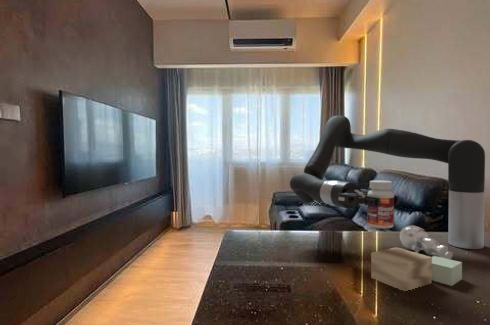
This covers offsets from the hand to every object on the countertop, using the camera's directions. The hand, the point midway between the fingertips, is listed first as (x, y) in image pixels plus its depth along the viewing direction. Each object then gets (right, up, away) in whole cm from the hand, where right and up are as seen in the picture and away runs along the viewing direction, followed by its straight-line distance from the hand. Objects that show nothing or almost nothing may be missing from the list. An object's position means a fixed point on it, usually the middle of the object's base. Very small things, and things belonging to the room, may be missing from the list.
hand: (388, 201), depth 78 cm
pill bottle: (-1, -7, +2) cm, 7 cm away
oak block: (+1, -18, -4) cm, 18 cm away
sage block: (+11, -18, -3) cm, 21 cm away
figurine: (+17, -17, +15) cm, 28 cm away
